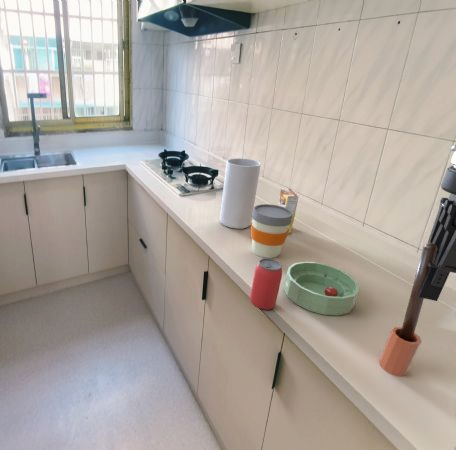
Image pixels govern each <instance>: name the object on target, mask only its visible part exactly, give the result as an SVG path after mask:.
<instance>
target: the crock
mask: <svg viewBox="0 0 456 450" xmlns="http://www.w3.org/2000/svg"><path fill="white" fill-rule="evenodd" d="M401 330H402V326H394V327H393V328H391V330H390V333H389V335H388V338H387V339H386V342H385V344H384V347H383V349H382V352H381V354H380V356H379V359H378V363H379V366H380V367H381V369H383V370H384V371H385V372H386V373H388V374H390V375H392V376H395V377H405V376H406V375H407V374H408V372H409V369H410V368H411V365H412V363H413V361H414V359H415V357H416V354H417V352H418V350H419V348H420V345H421V344H422V339H421V337H420V336H419V335H418V333H416V332H414V336H413V339H412V342H409V341H405V340H403V339H401V338H400V334H401Z"/></svg>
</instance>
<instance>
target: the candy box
mask: <svg viewBox="0 0 456 450" xmlns="http://www.w3.org/2000/svg"><path fill="white" fill-rule="evenodd" d="M298 201H299V195H297V194H296V193H295V192H294V191H293V190H292V188H280V193H279V197H278V205H277V206H281V207H284V208H287V209H289V210H290V211H291V212H292V222H291V224H290V225H289V232H288V234H292V231H293V226H294V220H295V216H296V212H297V206H298Z"/></svg>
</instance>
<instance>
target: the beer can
mask: <svg viewBox="0 0 456 450" xmlns="http://www.w3.org/2000/svg"><path fill="white" fill-rule="evenodd" d="M282 267H283V265H282V264H281V262H279V261H278V260H276V259H274V258H265V257H264V258H261V259H259V260H258V263H257V264H256V266H255V268H254V274H253V281H252V285H251V290H250V296H249V301H250V303H251V305H253V306H254V307H255V308H258V309H260V310H264V311H265V310H266V311H267V310H271V309H274V308H275V307H276V305H277V300H278V296H279V292H280V291H279V290H280V287H281V282H282V277H283V268H282Z"/></svg>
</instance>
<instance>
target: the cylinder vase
mask: <svg viewBox="0 0 456 450" xmlns="http://www.w3.org/2000/svg"><path fill="white" fill-rule="evenodd" d="M261 165H262V163H261V162H260V161H258V160H254V159H250V158H243V157H242V158H241V157H238V158H237V157H233V158H229V159H227V160H226V164H225V170H224V171H225V172H224V180H223V189H222V196H221V205H220V213H219V222H220V224H221V225H223V226H224V227H227V228H230V229H237V230H243V229H247V228H249V227H251V223H252V221H253V218H252V213H253V209H254V207H255V203H256V202H255V200H256V197H257V196H256V195H257V190H258V184H259V177H260V172H261Z"/></svg>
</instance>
